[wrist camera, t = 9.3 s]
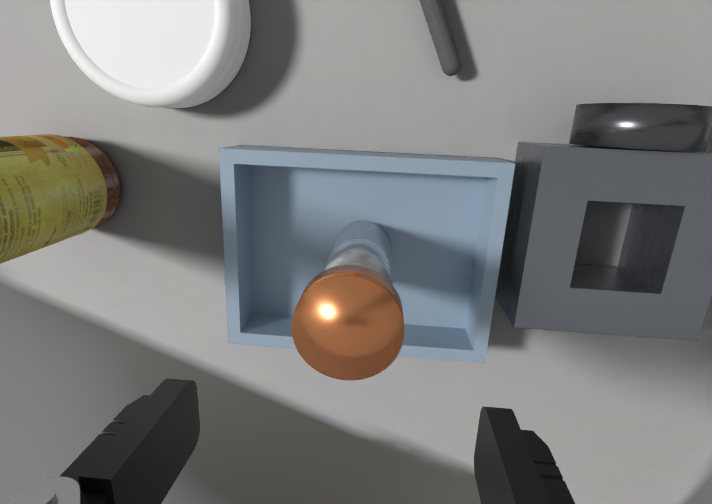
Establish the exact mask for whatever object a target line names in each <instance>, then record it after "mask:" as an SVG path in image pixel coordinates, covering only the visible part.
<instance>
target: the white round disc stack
mask: <svg viewBox="0 0 712 504" xmlns="http://www.w3.org/2000/svg"><path fill="white" fill-rule="evenodd" d="M50 3H51V9H52V13H53V18H54V21H55V24H56V27H57V30H58V33H59V35H60V37H61V39H62V41H63V44H64V45H65V47H66V49H67V51H68V52H69V54H70V56H71V57H72V58H73V60H74V61H75V62H76V64H77V65H78V67H79V68H80V69H81V70H82V71H83V72H84V73H85V74H86V75H87V76H88V77H89V78H90V79H91V80H93V81H94V82H95V83H96V84H97V85H98V86H100V87H101V88H103V89H104V90H106V91H107V92H109V93H111V94H112V95H114V96H116V97H118V98H120V99H122V100H125V101H128V102H131V103H134V104H138V105H142V106H148V107H164V108H187V107H192V106H196V105H199V104H202V103H204V102H207V101H209V100H210V99H212V98H214V97H215V96H217V95H218V94H219V93H221V92H222V91H223V90H224V89H225V88H226V87H227V86H228V85H229V84H230V83H231V82H232V81H233V79H234V78H235V76H236V75H237V73H238V72H239V70H240V68H241V66H242V64H243V62H244V59H245V56H246V53H247V50H248V45H249V41H250V32H251V14H250V5H249V0H50Z"/></svg>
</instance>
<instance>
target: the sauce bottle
mask: <svg viewBox="0 0 712 504" xmlns="http://www.w3.org/2000/svg"><path fill="white" fill-rule="evenodd" d="M120 189H121V184H120V181H119V177H118V173H117V172H116V170H115V168H114V165H113V164H112V162H111V161H110V159H109V158H108V157H107V155H106V154H105V153H104V152H103V151H102V150H101V149H99V148H97V146H95V145H93V144H92V143H90V142H88V141H86V140H83V139H79V138H74V137H64V136H63V137H62V136H59V135H50V134H48V135H29V136H11V137H0V263H3V262H6V261H8V260H11V259H14V258H17V257H19V256H22V255H25V254H27V253H30V252H33V251H36V250H38V249H41V248H44V247H46V246H49V245H52V244H54V243H57V242H60V241H62V240H65V239H67V238H70V237H73V236H76V235H79V234H82V233H83V232H86V231H88V230H90V229H92V228H93V227H96V226H99V225H101V224H102V223H104V222H105V221H106V220H108V219H109V218H110V217H111V216H112V214H113V213H114V211H115V209H116V207H117V205H118V203H119V199H120V196H121V194H120Z"/></svg>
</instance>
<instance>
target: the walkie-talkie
mask: <svg viewBox="0 0 712 504" xmlns="http://www.w3.org/2000/svg"><path fill="white" fill-rule="evenodd" d="M420 3H421V6H422V9H423V12H424V15H425V18H426V21H427V24H428V27H429V30H430V33H431V36H432V39H433V42H434V45H435V48H436V51H437V54H438V57H439V61H440V64H441V67H442V70H443V72H444V73H445V74H446V75H448V76H452V75H455V74H457V73H458V72H459V70H460V68H461V63H460V59H459V56H458V53H457V50H456V47H455V44H454V41H453V37H452V34H451V31H450V28H449V25H448V22H447V19H446V15H445V12H444V9H443V6H442V3H441V0H420Z"/></svg>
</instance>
